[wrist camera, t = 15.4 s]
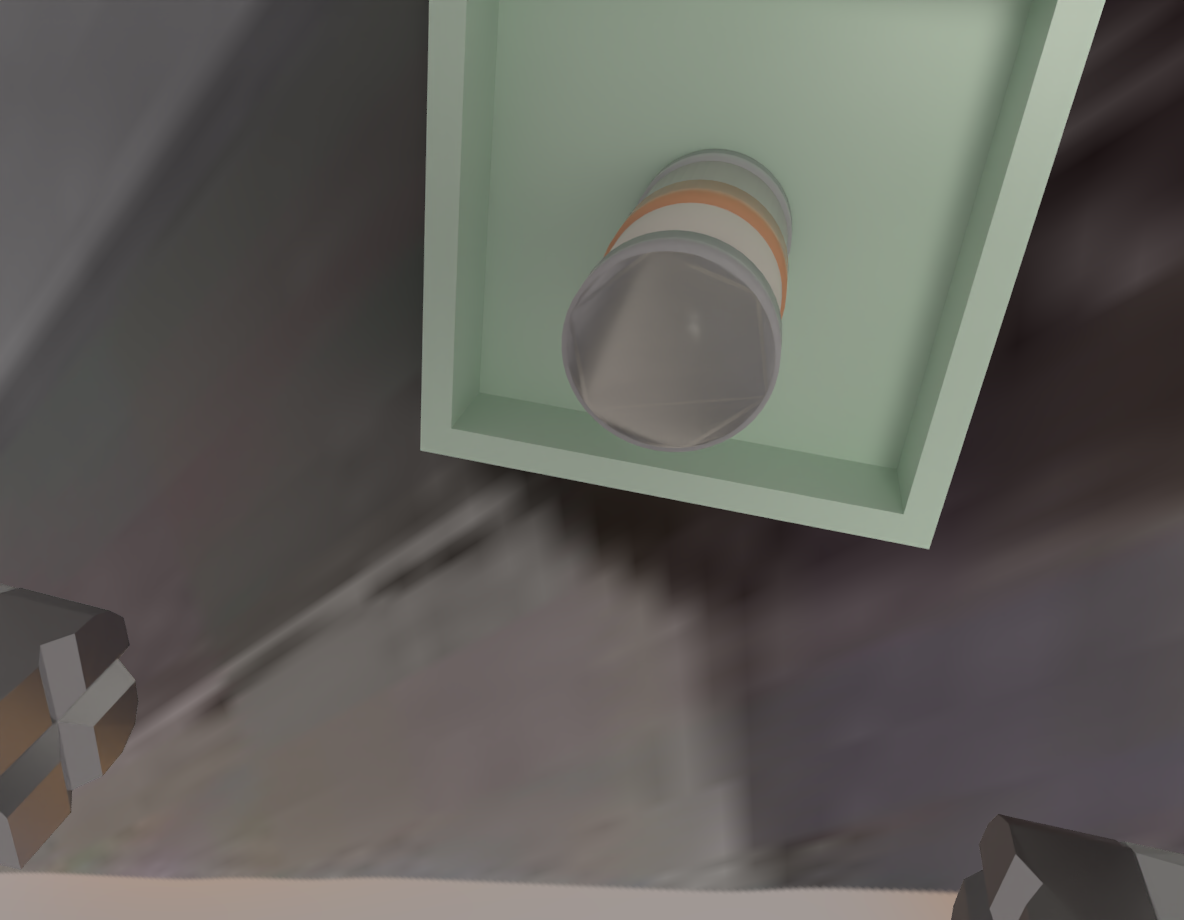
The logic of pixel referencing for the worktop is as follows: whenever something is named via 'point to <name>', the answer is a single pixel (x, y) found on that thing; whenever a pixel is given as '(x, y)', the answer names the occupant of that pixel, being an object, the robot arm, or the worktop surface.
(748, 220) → the fuse marked
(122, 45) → the worktop surface
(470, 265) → the tray
